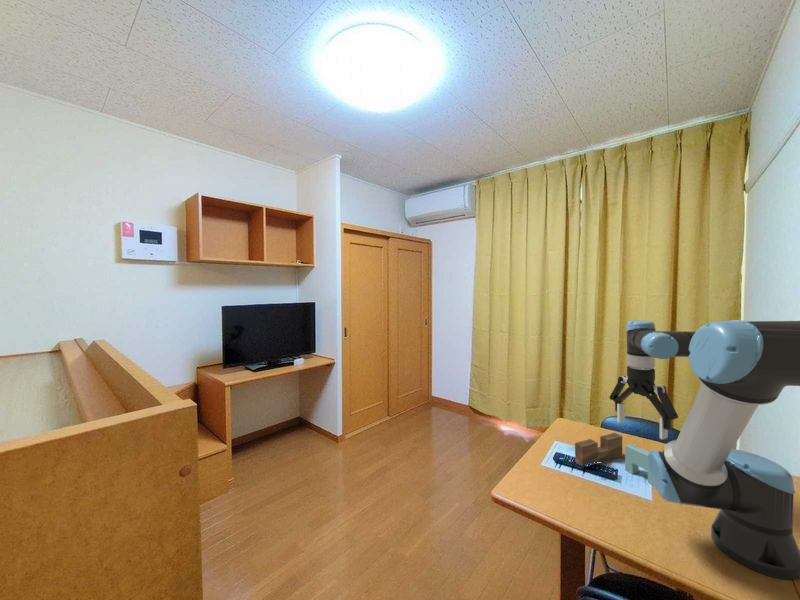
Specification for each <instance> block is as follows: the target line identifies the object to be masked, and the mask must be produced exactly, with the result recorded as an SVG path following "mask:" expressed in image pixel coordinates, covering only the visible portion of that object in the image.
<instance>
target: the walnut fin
mask: <svg viewBox="0 0 800 600" xmlns="http://www.w3.org/2000/svg"><path fill="white" fill-rule="evenodd" d="M599 437H600V439H599V441H600V445H598V442H597V441H595V440H593V439H592V438H589V439H584V440H581V441H577V442H575V443H574V455H575V456H574V460H575V461H574V463H575V462H576V463H578V464H580V465H581V466H583V465H585V464H588V463H594V462H595V463H597V462H603V463H606V462H609V461H613V460H617V459H619V458H622V457H623V435H621V434H619V433H616V432H612V433H608V434H604V435H600V436H599Z"/></svg>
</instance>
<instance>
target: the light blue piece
mask: <svg viewBox="0 0 800 600" xmlns="http://www.w3.org/2000/svg"><path fill="white" fill-rule="evenodd" d="M649 452H650V451H648V450H646V449H643V448H642V447H639V446H637V445H635V444H633V443H630V444H629V443H628V444H625V445H624V458H625V459H624V460H625V461H624V467H625V468H624V471H626V472H627V473H630V474H631V475H634V474H635V475H636V474H638V473H639V471H640V469H639V468H641V469H643V470H646V471H647V483H648V484H650V485H651V486H653V487H655V485H654V483H653V480H652V477H651V473H650V469H649V463H648V455H649Z"/></svg>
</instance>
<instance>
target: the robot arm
mask: <svg viewBox="0 0 800 600" xmlns="http://www.w3.org/2000/svg"><path fill="white" fill-rule="evenodd" d="M655 326H656V325H655V323H654V322H653V321H651V320H630V321H628V322H627V323H626V329H625V332H626V365H627V367H626V376H627V377H626V376H625V375H623V376H618V378H617V383H616V385H615V386H614V388H613V390H612V391H611V393H610V395H609V397H608V398H609V400H611V401H614V404H615V405H614V407H615V412H616V413H617V417H616V422H617V423H623V422H625V421H626V417H625V416H626V415H625V414H626V413H625V403H624V401H625V400H626V399H627V398H628V397H630V396H631V395H632V394H635V395H639V396H641V397H645V398H646V399H647V400H649V402H650V403H651V404H652V406H653V407H654V408H655V410H656V411H657V412H658V413H659V415H660V417H659V439H660V440H665V439H668V438H669V436H668V435H669V430H671V426H672V425H671V421H673V420H676V419H678V418H679V415H678V414H677V411H676V409H675V407H674V405H673V403H672V401H671V399H670V397H669V395H668V393H667V387H666V386H665V385H661V386H660V385H656V384H655V381H656V369H655V366H656V359H659V360H668V359H670V358H673V357H674V358H675V357H676V358H688V361H689V365H690V369H691V370H692V371H693V373H694V374H695V375H696V378H697V379H698V381H699V382H700V385H699V388H698V390H697V393H696V394H695V398H694V399H693V401H692V404H691V407H690V408H689V411H688V413H687V416H686V419H685V420H684V422H683V425H682V427H681V430H680V432H679V434H678V437H677V439H673V440H671V441H668V442H666V444H665V446H664V448H663V450H662V451H659V450H657V449H656V450H650V451H648V452H649V455H648V463H649V469H650V473H651V477H652V480H653V483H654V485H655V486H654V487H655V490H656V491H657V493H658V494H659V496H660V497H661V498H662V499H663V500H664V501H666V502H669V503H675V504H679V505H685V506H694V507H699V508H700V507H702V508H707V509H715V510H717V509H718V510H719V512H718V513H717V515H716V517H714V518H715V519H714V520H713V522H712V524H711V527H710V536H711V539H712V540H711V541H713V543H714V544H715V546H716V547H717V548H718V549H719V550H720V551H721V552H722V553H724V554H725V555H727V556H728V557H729V558H730V559H732V560H734V561H736V562H737V563H739V564H740V565H742V566H744V567H746V568H748V569H751V570H753V571H755V572H758V573H760V574H762V575H766V576H768V577H773V578H775V579H780V580H782V579H783V580H791V581H792V580H798V579H800V548H799V546H798V543H797V541H796V539H795V536H794V534H793V531H794V530H793V529H794V528H793V526H794V524H793V523H794V495H795V493H796V491H795V486H794V479H793V476H792V474H791V473H790V472H789V471H788V469H786V468H785V467H783V466H782V465H781V464H779V463H776V462H775V461H772V460H770V459H768V458H766V457H763V456H761V455H758V454H755V453H752V452H748V451H745V450H741V449H737V448H736V449H735V448H734V447H735V445H736V444H737V443H738V441H739V439H740V437H741V435H742V434H743V432H744V430H745V429H746V427H747V425H748V424H749V422H750V420H751V419H752V417H753V416H754V414H755V411H756V410H757V409H758V406H762V405H768V404H772V403H774V402H775V401H776V400H777V399H778V397H779V396H780V394H781V393H782V391H783V389H784V388H785V387H789V386H791V387H800V320H762V321H761V320H757V321H756V320H755V321H753V320H751V321H749V320H748V321H746V320H741V319H731V320H729V319H728V320H725V321H724V320H723V321H712V322H708V323H706V324H704V325H702V326H700V327H699V328H698V329H696V331H680V330H679V331H678V330H676V331H674V330H673V331H672V330H671V331H668V330H667V331H666V330H665V331H662V330H656V327H655ZM626 384H627V385H628V387H627V388H626V389H625V390H624V391H623V389H624V387H625V385H626ZM622 391H623V392H622ZM621 392H622V393H621Z"/></svg>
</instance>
